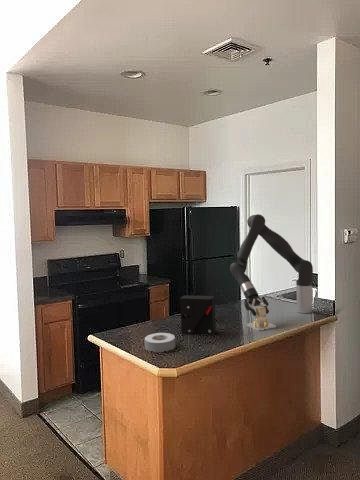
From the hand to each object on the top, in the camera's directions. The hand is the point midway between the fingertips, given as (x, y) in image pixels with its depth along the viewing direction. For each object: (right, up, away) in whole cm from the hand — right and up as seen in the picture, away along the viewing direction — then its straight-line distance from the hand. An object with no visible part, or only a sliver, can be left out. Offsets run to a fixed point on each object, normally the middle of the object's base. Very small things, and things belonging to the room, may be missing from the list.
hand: (261, 314), depth 227 cm
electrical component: (-36, -9, -4) cm, 37 cm away
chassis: (0, -7, +1) cm, 7 cm away
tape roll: (-56, -12, -25) cm, 63 cm away
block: (0, -6, +1) cm, 6 cm away
